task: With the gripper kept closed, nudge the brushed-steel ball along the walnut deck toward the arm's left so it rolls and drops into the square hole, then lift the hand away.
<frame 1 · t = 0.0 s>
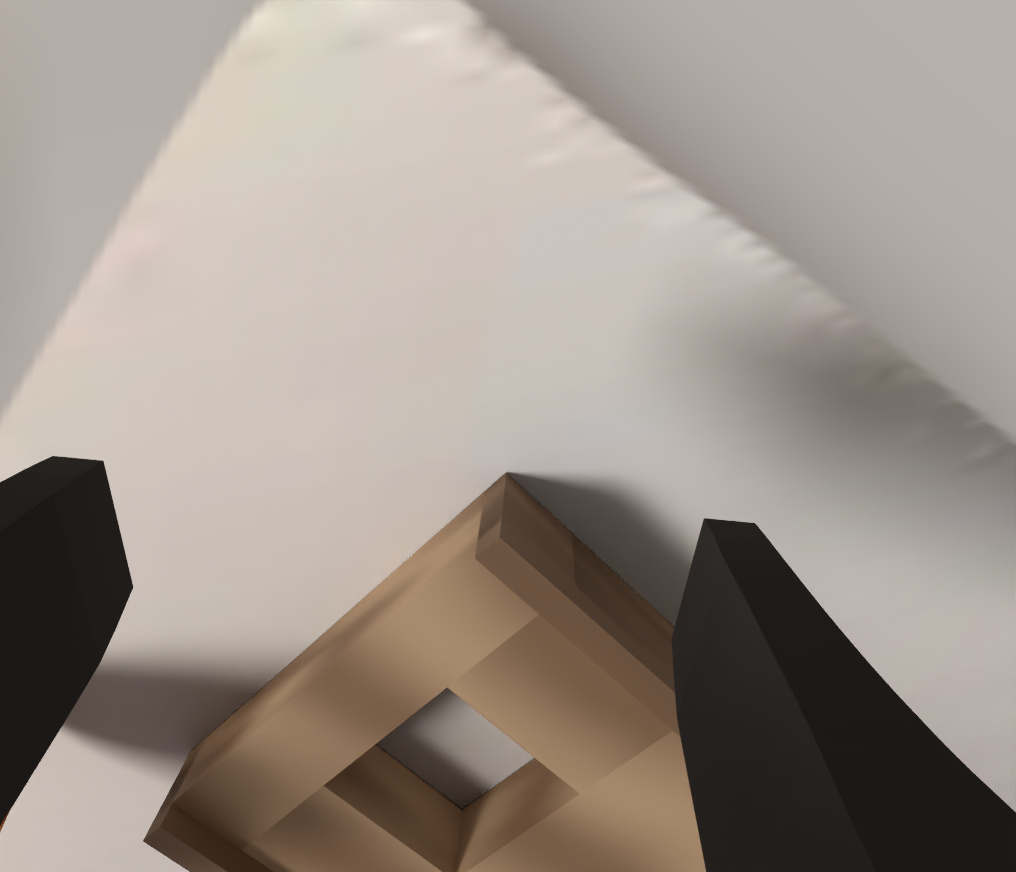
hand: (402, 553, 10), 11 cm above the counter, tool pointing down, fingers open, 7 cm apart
deck: (583, 822, 26), on the counter
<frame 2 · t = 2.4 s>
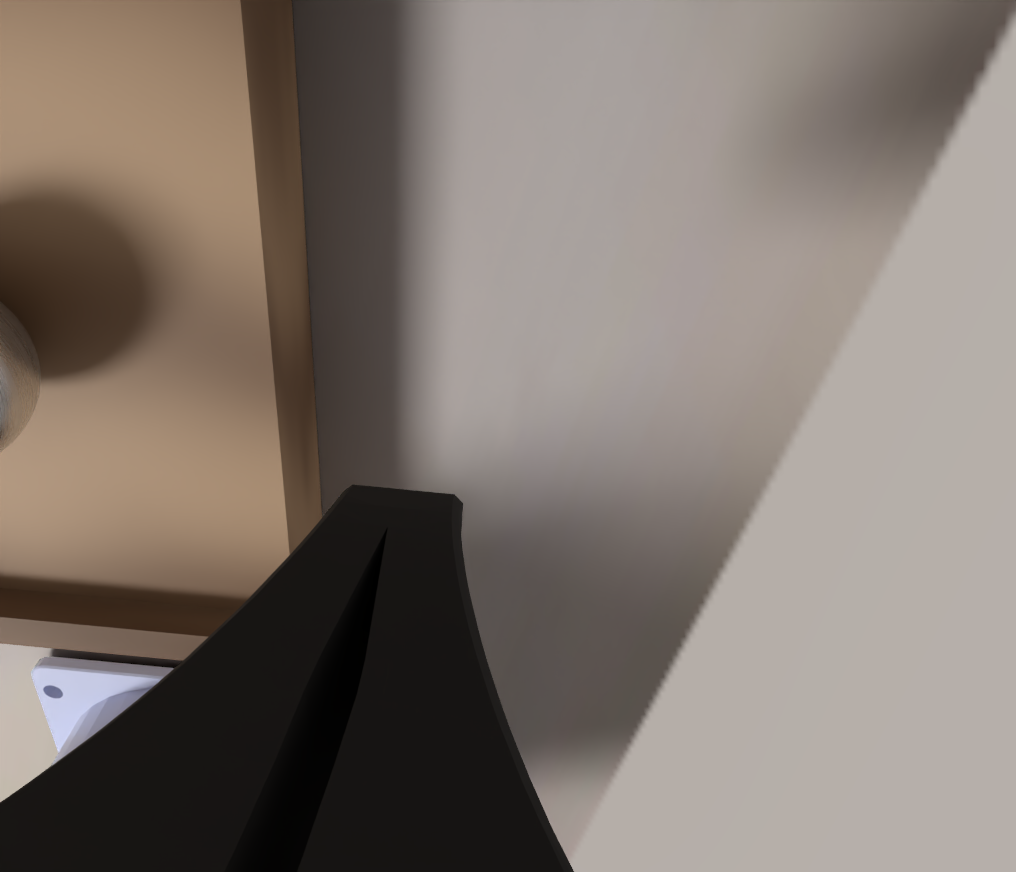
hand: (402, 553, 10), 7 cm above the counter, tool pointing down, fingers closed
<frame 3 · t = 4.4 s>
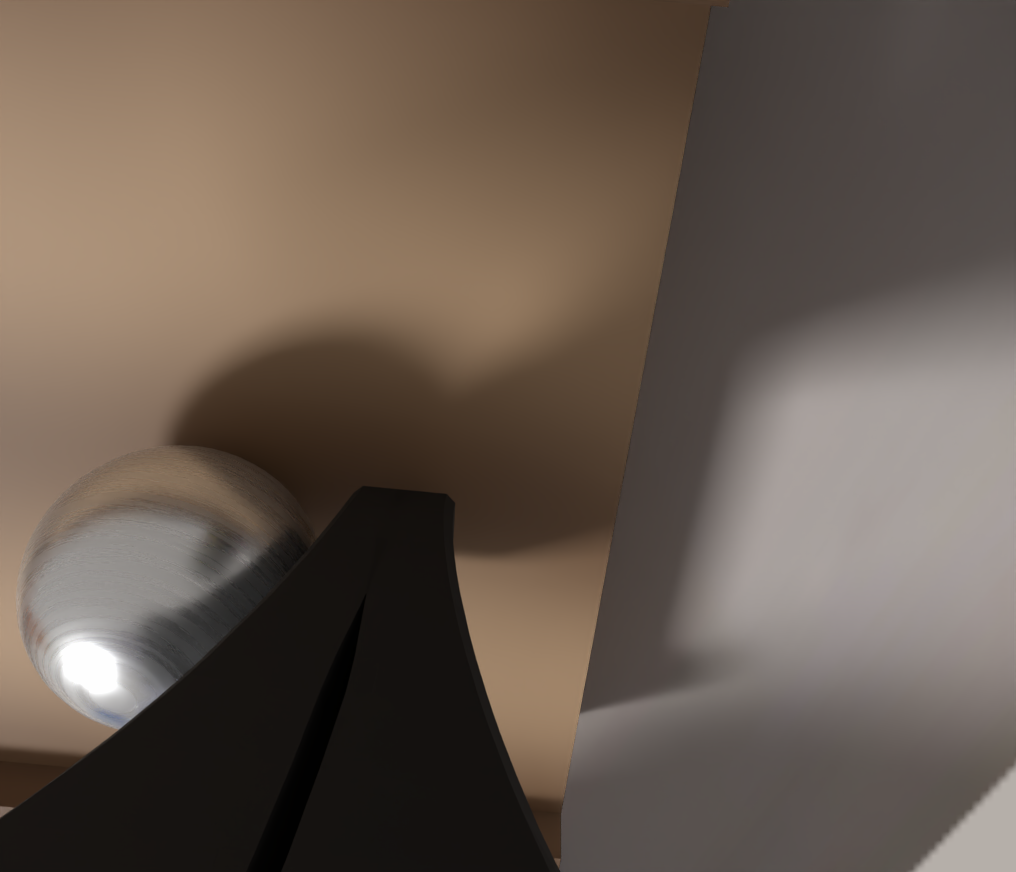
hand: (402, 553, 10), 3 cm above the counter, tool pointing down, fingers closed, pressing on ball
ball: (179, 585, 9), point 4 cm above the counter, touching deck, gripper
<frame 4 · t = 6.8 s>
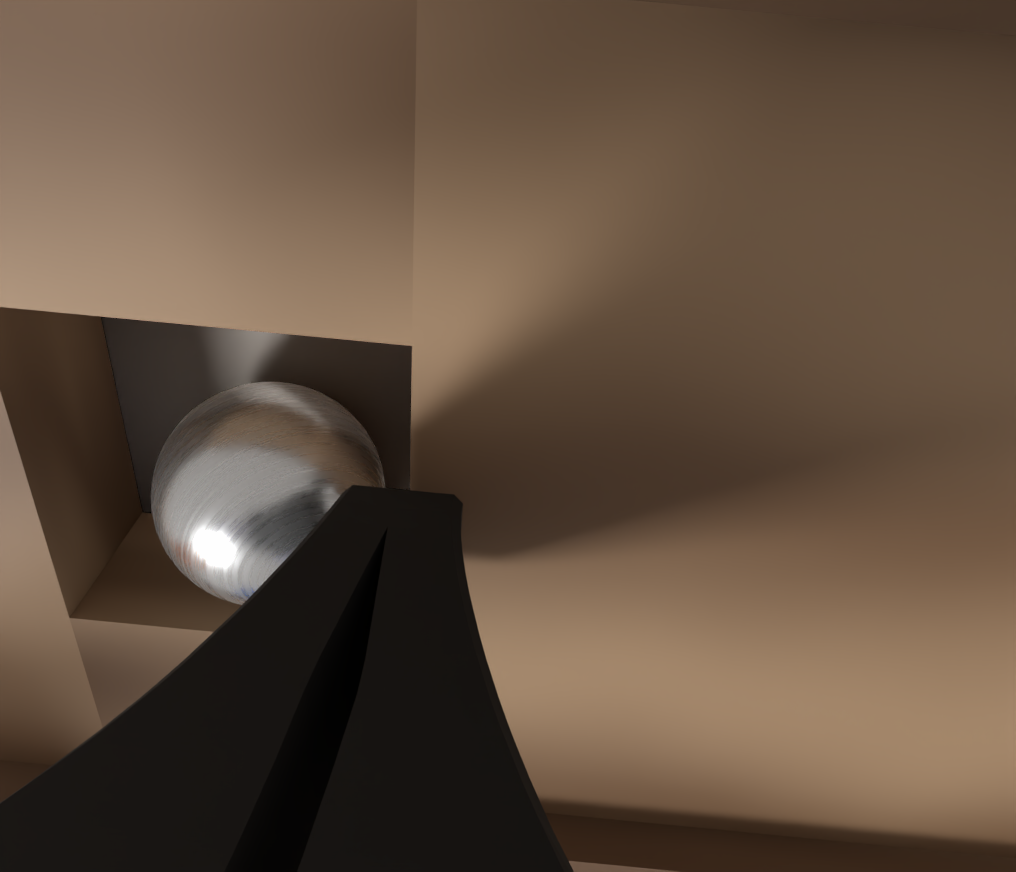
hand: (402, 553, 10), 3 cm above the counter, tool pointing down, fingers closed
ball: (272, 493, 12), point 2 cm above the counter, tilted 36°
deck: (626, 435, 13), on the counter
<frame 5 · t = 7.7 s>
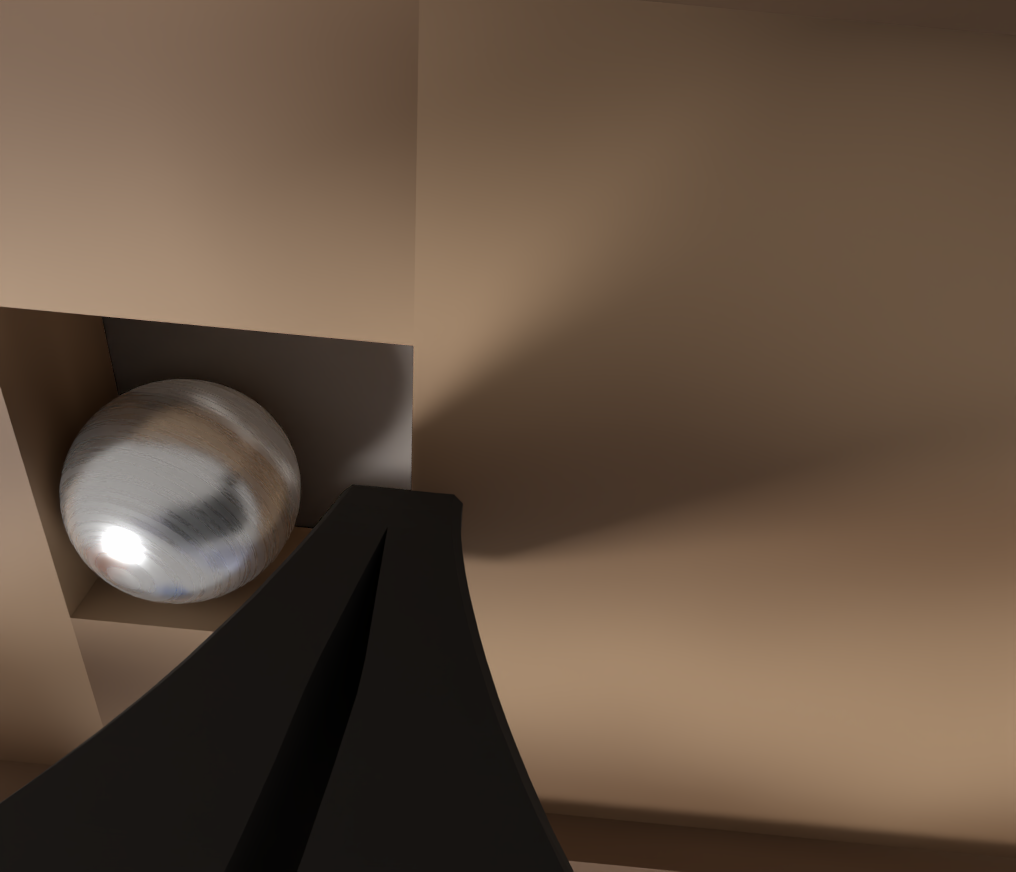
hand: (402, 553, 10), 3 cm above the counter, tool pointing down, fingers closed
ball: (186, 490, 12), point 2 cm above the counter, tilted 16°
deck: (627, 435, 13), on the counter
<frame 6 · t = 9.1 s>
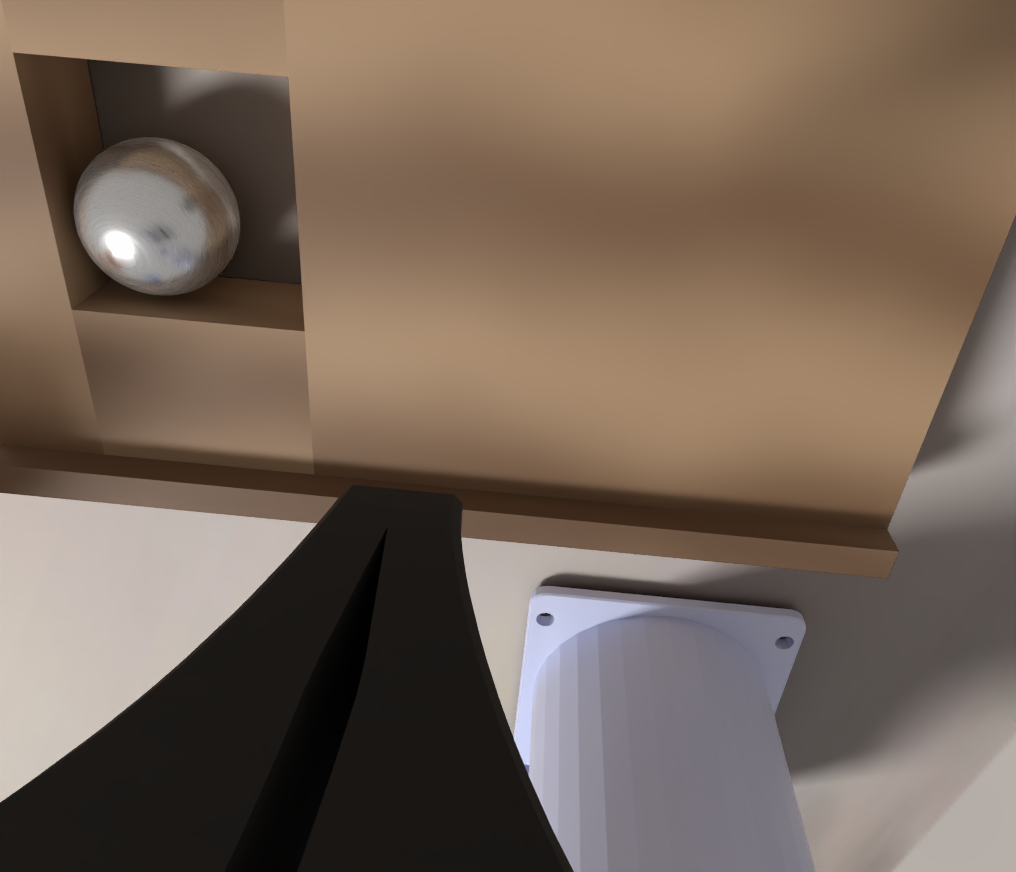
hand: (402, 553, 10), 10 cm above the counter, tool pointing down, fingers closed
ball: (160, 218, 17), point 2 cm above the counter, tilted 13°
deck: (463, 193, 18), on the counter
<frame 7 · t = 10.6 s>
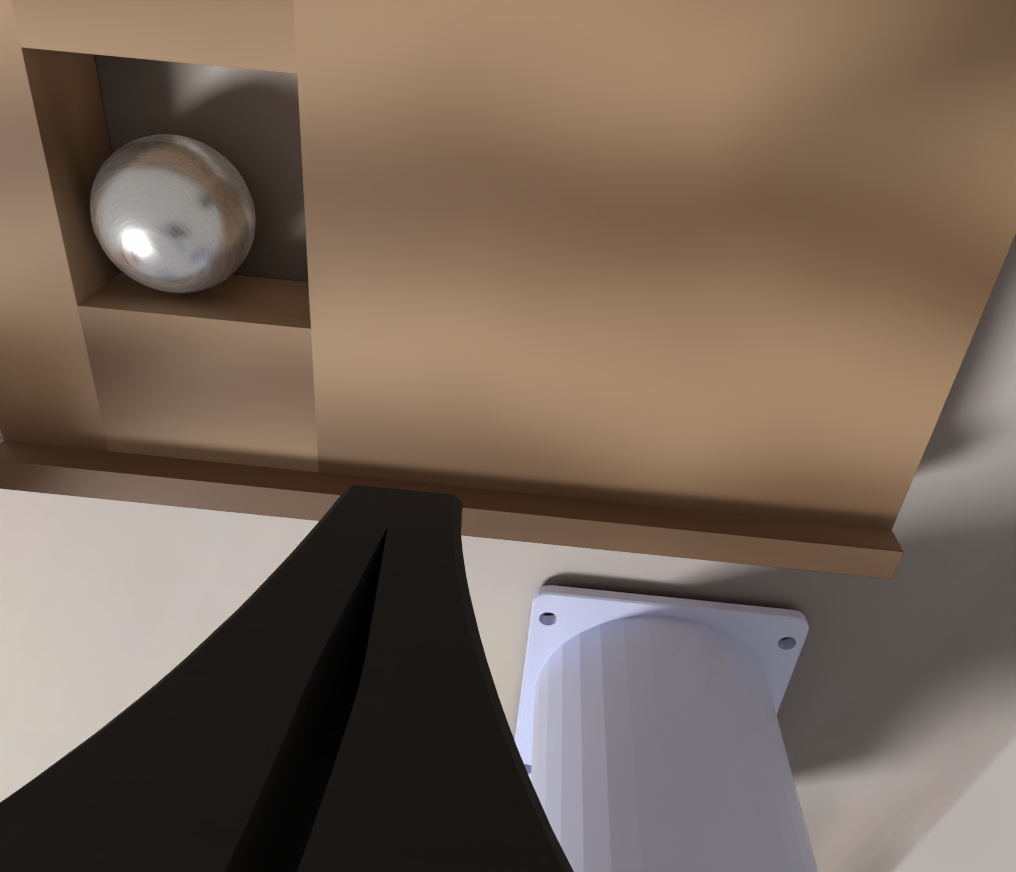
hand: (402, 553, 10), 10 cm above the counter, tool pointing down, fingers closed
ball: (175, 215, 17), point 2 cm above the counter, tilted 13°
deck: (470, 191, 18), on the counter
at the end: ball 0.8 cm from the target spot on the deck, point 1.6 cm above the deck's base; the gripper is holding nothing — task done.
